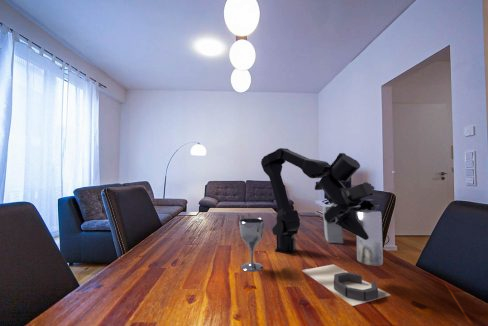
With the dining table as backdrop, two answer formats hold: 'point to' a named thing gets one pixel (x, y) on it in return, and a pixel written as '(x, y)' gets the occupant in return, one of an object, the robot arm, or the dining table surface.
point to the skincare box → (332, 229)
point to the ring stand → (346, 284)
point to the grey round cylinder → (370, 238)
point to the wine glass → (251, 239)
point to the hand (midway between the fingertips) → (374, 237)
